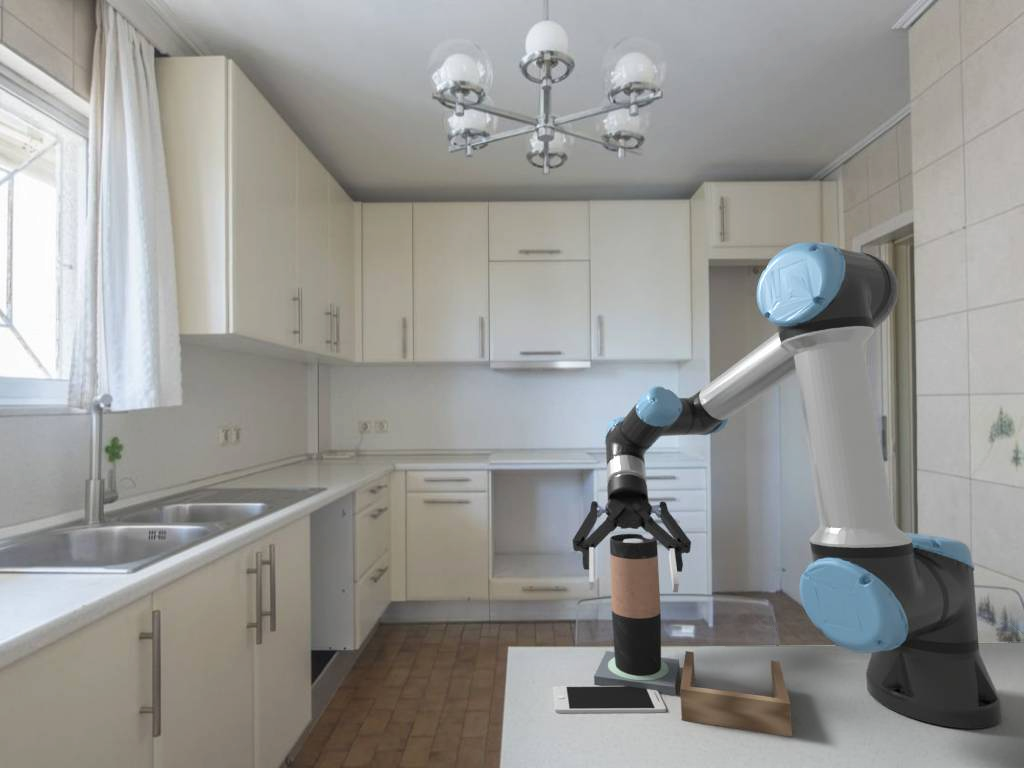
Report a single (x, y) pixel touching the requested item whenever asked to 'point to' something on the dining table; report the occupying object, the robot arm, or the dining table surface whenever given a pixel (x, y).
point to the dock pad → (659, 681)
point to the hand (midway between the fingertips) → (633, 587)
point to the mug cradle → (736, 704)
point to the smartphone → (606, 699)
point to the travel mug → (635, 604)
